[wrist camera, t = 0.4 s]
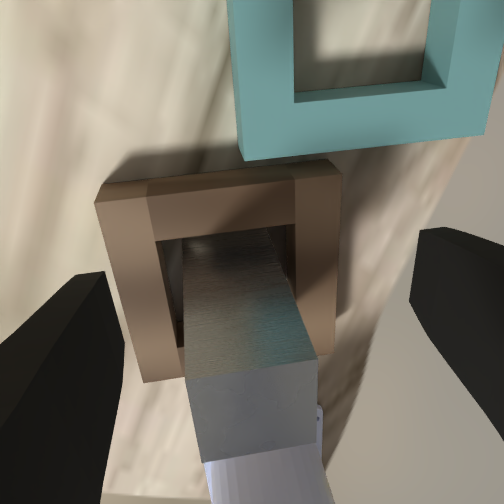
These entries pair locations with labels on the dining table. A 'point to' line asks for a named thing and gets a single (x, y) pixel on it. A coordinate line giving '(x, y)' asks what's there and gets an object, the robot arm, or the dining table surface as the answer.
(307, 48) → the dining table surface
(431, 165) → the dining table surface
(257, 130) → the teal square frame
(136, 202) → the socket block
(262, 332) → the peg
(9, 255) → the dining table surface
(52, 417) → the robot arm
